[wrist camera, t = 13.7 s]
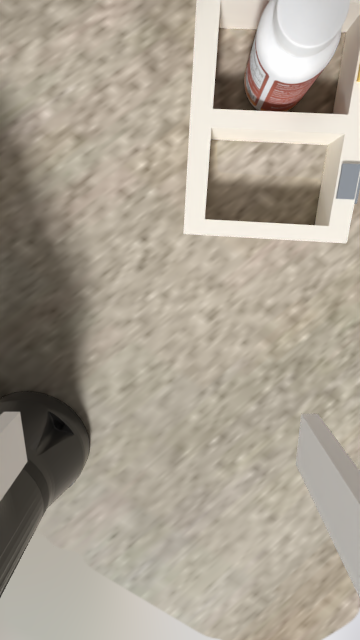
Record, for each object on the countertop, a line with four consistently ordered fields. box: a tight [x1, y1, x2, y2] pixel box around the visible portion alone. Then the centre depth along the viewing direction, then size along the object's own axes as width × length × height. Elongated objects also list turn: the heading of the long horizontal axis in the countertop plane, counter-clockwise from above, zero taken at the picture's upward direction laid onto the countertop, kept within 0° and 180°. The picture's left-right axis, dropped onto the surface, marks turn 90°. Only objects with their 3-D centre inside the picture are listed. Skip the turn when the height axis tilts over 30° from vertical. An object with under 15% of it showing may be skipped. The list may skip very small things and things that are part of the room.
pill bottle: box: [244, 0, 350, 112], centre depth 26 cm, size 6×6×11 cm
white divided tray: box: [184, 0, 360, 243], centre depth 31 cm, size 16×20×4 cm
